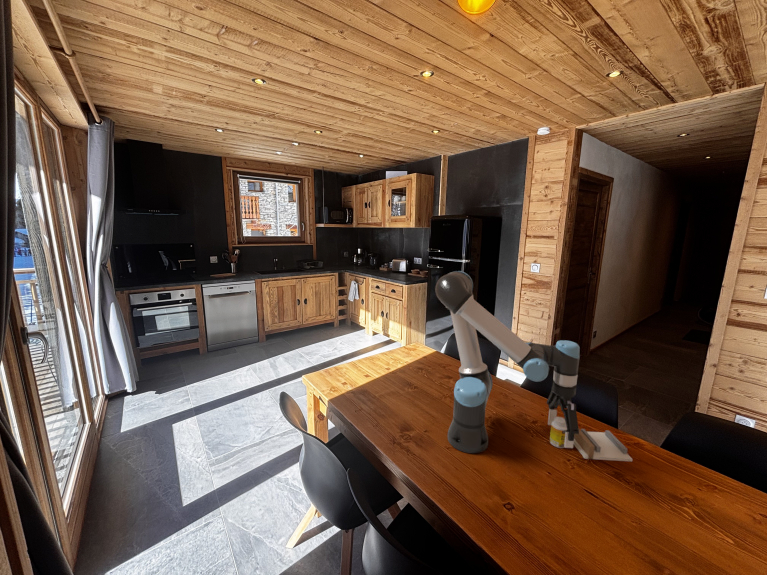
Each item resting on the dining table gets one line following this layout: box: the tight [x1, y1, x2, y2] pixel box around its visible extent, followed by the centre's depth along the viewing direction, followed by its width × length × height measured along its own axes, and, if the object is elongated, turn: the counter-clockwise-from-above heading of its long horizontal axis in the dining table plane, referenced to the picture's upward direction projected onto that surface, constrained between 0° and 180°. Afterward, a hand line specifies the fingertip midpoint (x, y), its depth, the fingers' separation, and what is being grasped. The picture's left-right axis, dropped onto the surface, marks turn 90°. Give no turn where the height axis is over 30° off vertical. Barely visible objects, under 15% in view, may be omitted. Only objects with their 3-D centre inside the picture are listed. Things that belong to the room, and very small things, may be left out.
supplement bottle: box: [549, 416, 567, 449], centre depth 120 cm, size 6×6×10 cm
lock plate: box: [573, 428, 633, 462], centre depth 119 cm, size 16×15×5 cm
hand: (559, 435), depth 120 cm, fingers open, 13 cm apart
